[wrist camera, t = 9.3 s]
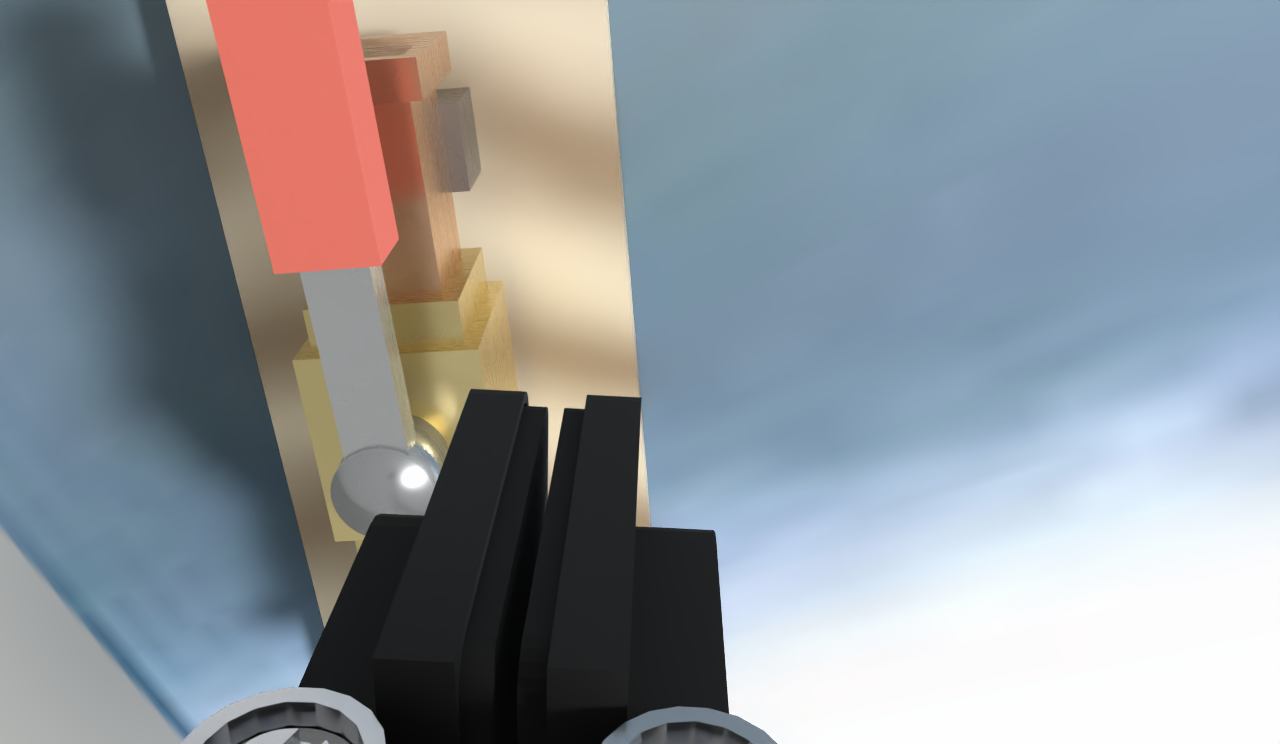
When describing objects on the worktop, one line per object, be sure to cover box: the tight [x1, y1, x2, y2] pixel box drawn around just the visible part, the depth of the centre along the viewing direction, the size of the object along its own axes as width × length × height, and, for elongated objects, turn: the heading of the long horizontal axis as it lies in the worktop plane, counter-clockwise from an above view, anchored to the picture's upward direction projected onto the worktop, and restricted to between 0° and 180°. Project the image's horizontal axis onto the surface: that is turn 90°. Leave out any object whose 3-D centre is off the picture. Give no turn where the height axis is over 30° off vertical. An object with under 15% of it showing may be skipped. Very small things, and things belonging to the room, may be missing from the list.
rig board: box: [166, 0, 651, 628], centre depth 35 cm, size 26×12×1 cm, turn 4°
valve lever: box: [206, 0, 448, 536], centre depth 25 cm, size 14×3×2 cm, turn 5°
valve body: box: [292, 31, 518, 553], centre depth 32 cm, size 20×5×6 cm, turn 4°
